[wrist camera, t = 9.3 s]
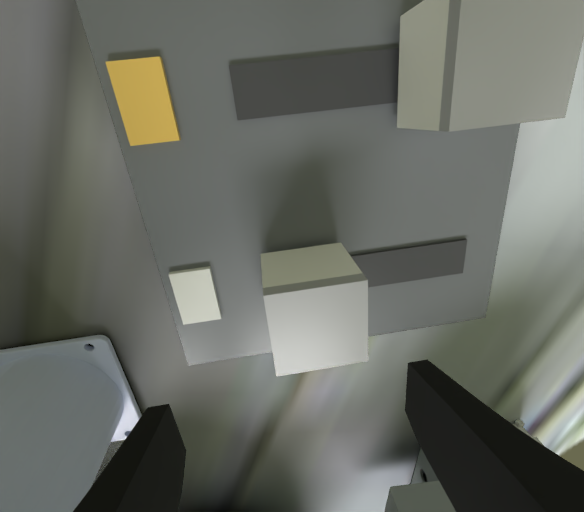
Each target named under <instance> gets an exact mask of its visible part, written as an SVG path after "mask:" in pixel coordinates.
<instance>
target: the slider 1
mask: <svg viewBox="0 0 584 512" xmlns="http://www.w3.org/2000/svg"><path fill="white" fill-rule="evenodd" d="M260 255H261V270H262V285H263V297H264V304H265V310H266V316H267V322H268V328H269V334H270V340H271V346H272V353H273V359H274V365H275V371H276V377H278V376H284V375H290V374H295V373H301V372H307V371H313V370H319V369H325V368H331V367H337V366H343V365H349V364H355V363H361V362H367V361H368V280H367V278H366V277H365V276H364V274H363V273H362V271H361V270H360V269H359V267H358V266H357V264H356V263H355V262H354V260H353V259H352V257H351V256H350V255H349V253H348V252H347V250H346V249H345V248H344V246H343V245H342V243H341V242H340V243H333V244H326V245H319V246H312V247H305V248H298V249H291V250H284V251H277V252H269V253H262V254H260Z"/></svg>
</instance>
